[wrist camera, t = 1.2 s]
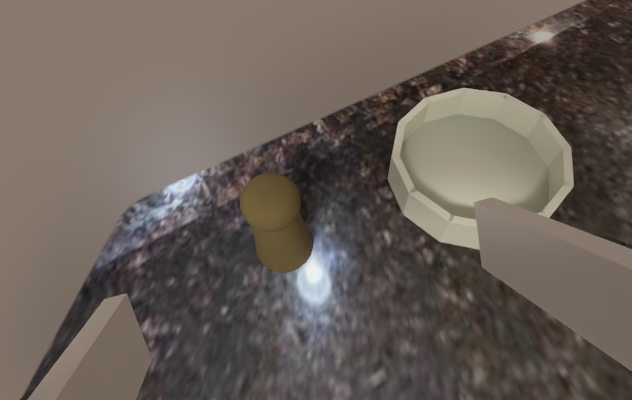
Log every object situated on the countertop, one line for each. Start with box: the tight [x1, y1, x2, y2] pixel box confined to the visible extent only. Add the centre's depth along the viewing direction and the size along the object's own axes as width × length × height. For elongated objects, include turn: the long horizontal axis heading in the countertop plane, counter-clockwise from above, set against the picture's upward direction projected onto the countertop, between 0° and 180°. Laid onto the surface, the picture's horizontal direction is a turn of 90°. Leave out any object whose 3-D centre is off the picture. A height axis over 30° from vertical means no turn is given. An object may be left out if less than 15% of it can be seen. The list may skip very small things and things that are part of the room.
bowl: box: [388, 88, 574, 250], centre depth 43 cm, size 18×18×4 cm
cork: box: [240, 173, 313, 272], centre depth 38 cm, size 6×6×11 cm
